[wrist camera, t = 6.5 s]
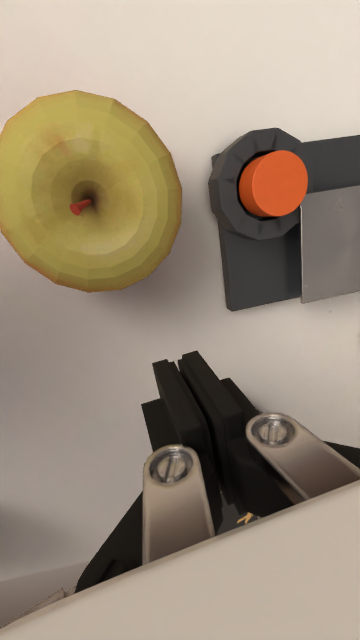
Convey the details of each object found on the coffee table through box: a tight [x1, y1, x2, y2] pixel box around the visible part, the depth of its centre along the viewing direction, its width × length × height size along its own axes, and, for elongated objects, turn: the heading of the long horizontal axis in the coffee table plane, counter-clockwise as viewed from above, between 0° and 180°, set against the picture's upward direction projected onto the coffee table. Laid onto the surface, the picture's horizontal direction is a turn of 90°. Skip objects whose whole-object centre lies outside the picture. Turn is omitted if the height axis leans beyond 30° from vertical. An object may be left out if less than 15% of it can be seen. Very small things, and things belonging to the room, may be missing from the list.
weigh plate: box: [298, 185, 360, 303], centre depth 23 cm, size 7×7×1 cm
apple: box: [0, 90, 182, 292], centre depth 18 cm, size 10×10×8 cm
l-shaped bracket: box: [208, 128, 360, 311], centre depth 23 cm, size 13×12×3 cm
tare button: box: [239, 150, 308, 216], centre depth 20 cm, size 4×4×2 cm
